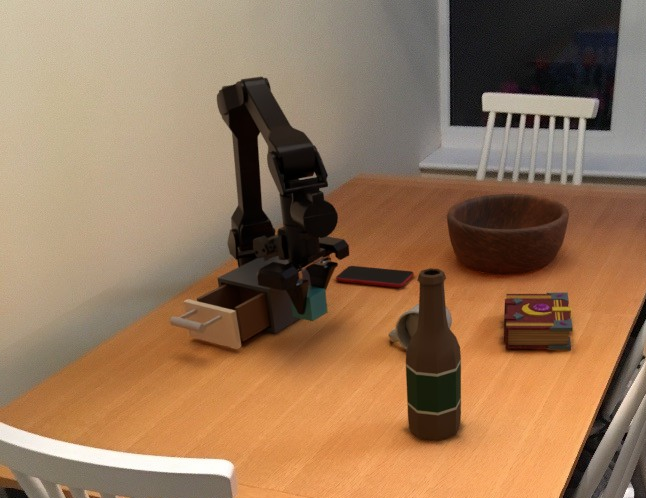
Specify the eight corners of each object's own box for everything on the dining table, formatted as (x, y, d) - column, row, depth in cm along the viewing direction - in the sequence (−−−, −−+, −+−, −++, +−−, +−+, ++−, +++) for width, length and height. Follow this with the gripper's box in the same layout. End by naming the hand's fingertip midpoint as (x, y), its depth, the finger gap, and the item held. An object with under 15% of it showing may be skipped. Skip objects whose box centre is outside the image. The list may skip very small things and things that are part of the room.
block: (292, 317, 147) (289, 293, 144) (308, 308, 150) (305, 284, 147) (312, 321, 145) (309, 297, 142) (327, 312, 148) (325, 288, 145)
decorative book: (503, 351, 142) (504, 324, 139) (504, 312, 155) (505, 287, 152) (571, 352, 141) (573, 324, 138) (566, 313, 154) (568, 287, 151)
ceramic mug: (455, 338, 147) (454, 297, 143) (435, 357, 141) (434, 315, 137) (401, 330, 152) (399, 290, 147) (380, 348, 146) (377, 307, 142)
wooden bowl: (431, 274, 173) (430, 225, 167) (467, 235, 192) (467, 190, 186) (550, 286, 164) (554, 235, 159) (576, 244, 183) (580, 196, 177)
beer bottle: (405, 417, 126) (399, 263, 112) (456, 412, 126) (456, 258, 112) (411, 444, 119) (405, 285, 106) (465, 439, 120) (465, 280, 106)
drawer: (214, 362, 142) (207, 325, 139) (167, 349, 148) (159, 313, 144) (285, 320, 155) (281, 286, 151) (239, 309, 161) (234, 275, 157)
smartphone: (349, 265, 177) (415, 271, 172) (349, 269, 178) (415, 275, 172) (334, 277, 172) (401, 284, 166) (334, 282, 172) (402, 288, 167)
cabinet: (275, 333, 153) (269, 289, 148) (224, 320, 159) (217, 277, 154) (322, 305, 163) (318, 262, 158) (273, 294, 169) (267, 252, 164)
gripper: (296, 199, 148) (306, 283, 157) (225, 231, 136) (240, 320, 144) (347, 207, 143) (354, 293, 152) (278, 240, 130) (290, 332, 139)
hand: (309, 309), depth 147 cm, fingers closed on block, 4 cm apart
